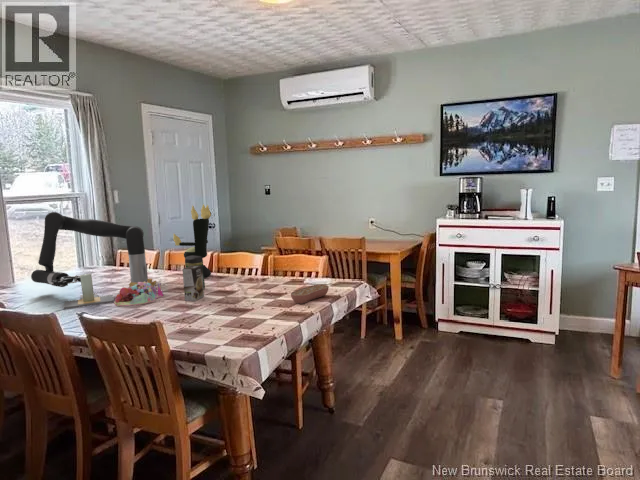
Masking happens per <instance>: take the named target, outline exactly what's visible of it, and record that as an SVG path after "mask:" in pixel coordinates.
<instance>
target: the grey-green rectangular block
mask: <svg viewBox="0 0 640 480" xmlns="http://www.w3.org/2000/svg"><path fill="white" fill-rule="evenodd" d="M79 276H80V279H81V282H80V285H81V295H83V301H84V302H89V301H93V300H95V299H94V293H95V292H94V285H93V276H92V273H84V274H81V275H79Z"/></svg>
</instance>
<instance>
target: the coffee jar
mask: <svg viewBox="0 0 640 480" xmlns="http://www.w3.org/2000/svg"><path fill="white" fill-rule="evenodd" d="M184 264H185V268H186V267H189V266H202V274H203V265H204V258H202V257H201V256H194V255H192V256H187V257H186V258H185V257H184ZM203 287H204V289H206V283H205V278H204V275H203Z"/></svg>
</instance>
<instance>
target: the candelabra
mask: <svg viewBox="0 0 640 480" xmlns="http://www.w3.org/2000/svg"><path fill="white" fill-rule="evenodd" d="M209 207H210V205H209V204H207V205H206V206H205V204H204V203H203V204H202V206H201V209H200V212H201V213H200V216H201V218H199V214H198V212H197V211H196V208H195V207H194V205H192V206H191V210H190V213H191V219H192V220H193V221H192V229H193V237H194V239H193V240H194V242H191V241H190V242H187V241H185V242H184V241H183V242H182V241H181V238H180V237H179V236H178V235H176V234H175V233H173V241H174V243H175V246H176V247H177V246H182V247H189V248H188V249H186V251H184V253H183V257H184V259H185V258H186V257H187V256H192V255H194V256H201V257H202V258H203V259H204V258H206V257H207V256H208V250H207V249H208V248H207V246H208V243H209V241H208V235H209V234H208V233H209V226H210V218H211V216H212V215H211V214H212V213H211V210H210V208H209ZM211 274H212V272H211V270H210V269H209V268H208V266H205V264H203V275H204V279H205V278H209V277H210V276H211Z"/></svg>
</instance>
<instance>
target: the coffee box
mask: <svg viewBox="0 0 640 480" xmlns="http://www.w3.org/2000/svg"><path fill="white" fill-rule="evenodd" d="M182 279H183V293H184V301H186V302H197V301H198V300H200V299H202V298H204V297H205V288H204V287H203V274H202V266H189V267H186V266H185V267H184V268H182Z"/></svg>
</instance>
